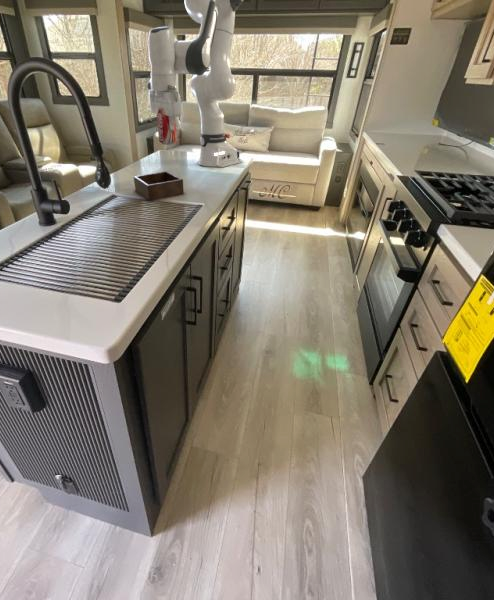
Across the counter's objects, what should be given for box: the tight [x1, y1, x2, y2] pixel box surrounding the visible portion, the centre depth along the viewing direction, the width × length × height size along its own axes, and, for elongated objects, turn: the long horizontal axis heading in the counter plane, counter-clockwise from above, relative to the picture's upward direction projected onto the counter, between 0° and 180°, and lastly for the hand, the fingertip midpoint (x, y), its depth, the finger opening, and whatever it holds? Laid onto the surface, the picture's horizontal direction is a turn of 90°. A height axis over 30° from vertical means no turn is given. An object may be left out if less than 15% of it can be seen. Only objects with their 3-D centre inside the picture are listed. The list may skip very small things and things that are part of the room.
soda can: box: [156, 108, 178, 146], centre depth 124 cm, size 7×7×12 cm
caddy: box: [133, 170, 185, 201], centre depth 130 cm, size 15×15×6 cm
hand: (166, 128), depth 125 cm, fingers closed on soda can, 7 cm apart
